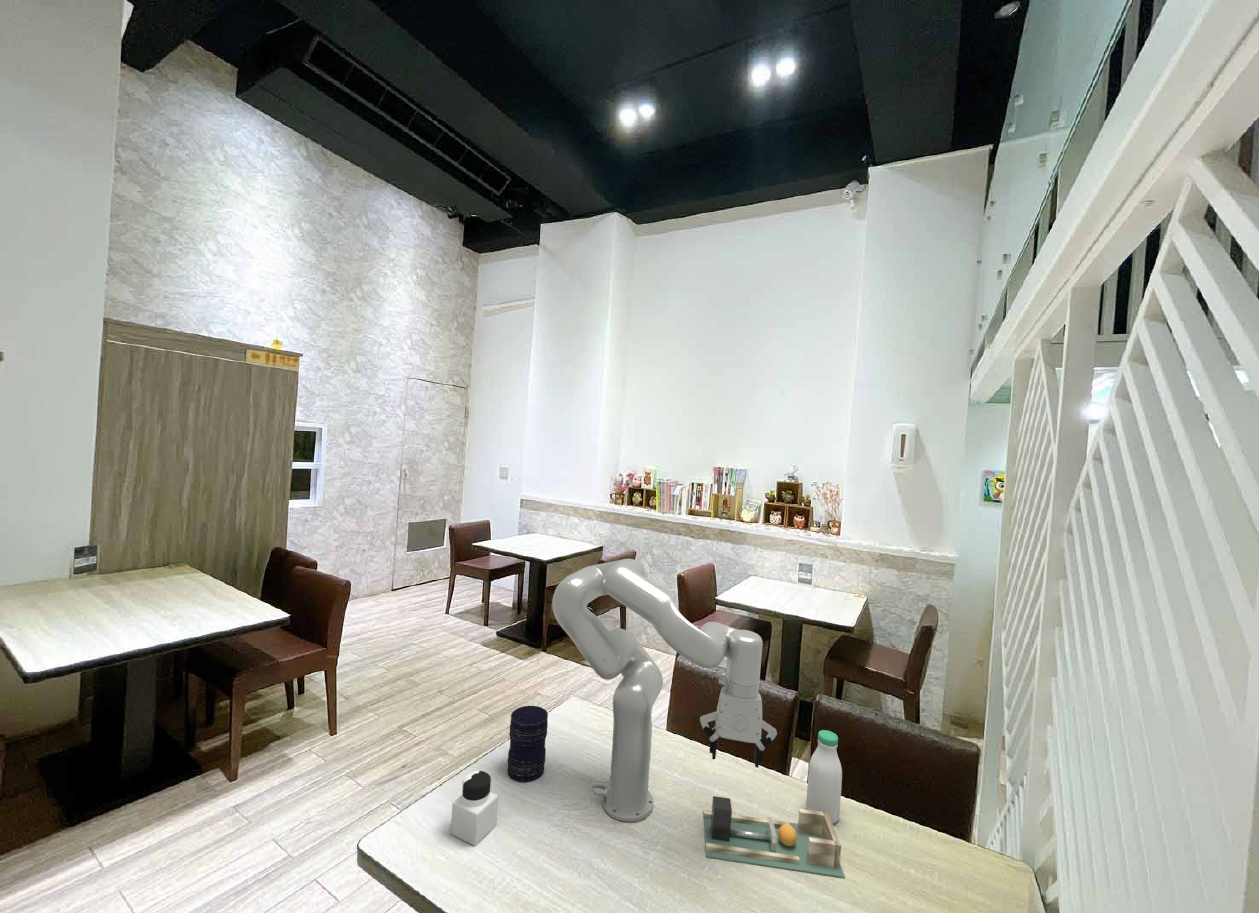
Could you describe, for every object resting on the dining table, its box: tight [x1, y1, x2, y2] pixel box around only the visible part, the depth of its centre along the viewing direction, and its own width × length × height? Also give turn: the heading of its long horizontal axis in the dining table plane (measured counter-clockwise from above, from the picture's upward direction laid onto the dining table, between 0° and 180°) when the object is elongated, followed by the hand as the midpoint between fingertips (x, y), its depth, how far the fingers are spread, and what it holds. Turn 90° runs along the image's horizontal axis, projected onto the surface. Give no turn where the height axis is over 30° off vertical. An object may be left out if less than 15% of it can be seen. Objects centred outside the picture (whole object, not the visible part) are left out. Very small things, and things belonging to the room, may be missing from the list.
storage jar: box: [507, 705, 549, 784], centre depth 134 cm, size 10×10×15 cm
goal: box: [797, 808, 842, 869], centre depth 113 cm, size 6×10×5 cm, turn 174°
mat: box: [702, 810, 846, 879], centre depth 115 cm, size 29×14×1 cm, turn 84°
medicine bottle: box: [450, 770, 499, 847], centre depth 112 cm, size 7×7×12 cm
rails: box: [703, 810, 800, 864], centre depth 115 cm, size 20×11×1 cm, turn 84°
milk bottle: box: [805, 729, 843, 825], centre depth 125 cm, size 8×8×20 cm
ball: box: [778, 824, 797, 846], centre depth 114 cm, size 4×4×4 cm
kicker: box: [711, 795, 777, 851], centre depth 115 cm, size 14×6×7 cm, turn 84°
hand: (734, 759), depth 116 cm, fingers open, 9 cm apart
